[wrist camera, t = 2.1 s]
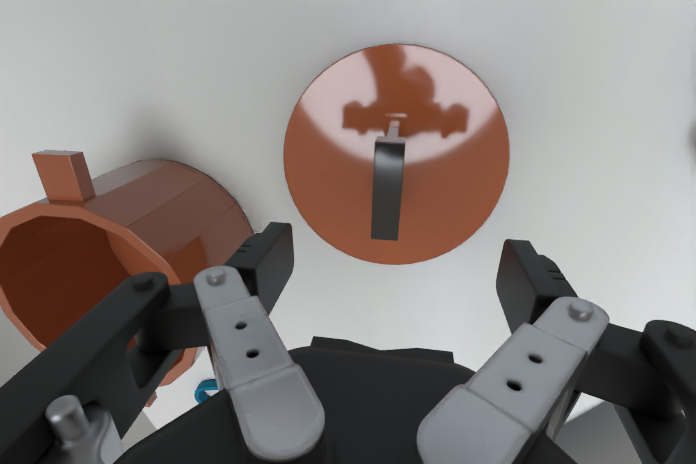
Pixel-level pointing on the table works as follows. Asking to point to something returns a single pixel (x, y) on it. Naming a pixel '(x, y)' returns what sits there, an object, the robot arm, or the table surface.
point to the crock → (110, 240)
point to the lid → (396, 154)
